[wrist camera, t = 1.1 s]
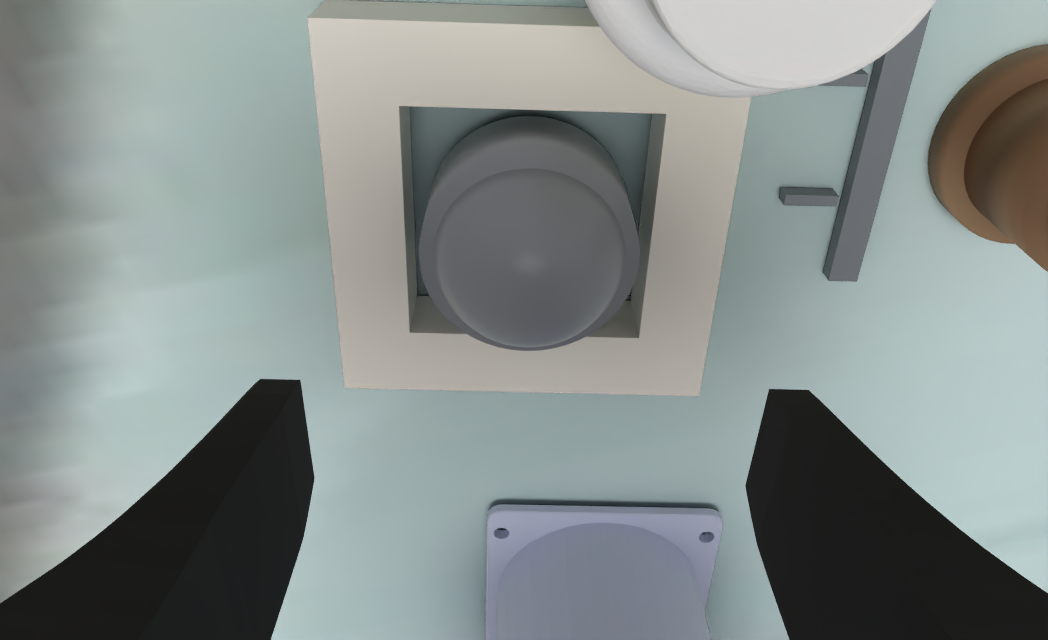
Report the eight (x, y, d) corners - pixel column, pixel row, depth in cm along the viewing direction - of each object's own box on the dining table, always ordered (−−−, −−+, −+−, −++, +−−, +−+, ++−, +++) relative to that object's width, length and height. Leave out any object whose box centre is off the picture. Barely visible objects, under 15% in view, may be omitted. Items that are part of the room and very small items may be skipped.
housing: (686, 356, 25) (698, 395, 24) (356, 348, 25) (344, 388, 24) (742, 12, 20) (762, 31, 19) (325, -1, 20) (307, 18, 18)
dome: (617, 299, 23) (637, 398, 20) (432, 294, 23) (414, 393, 19) (636, 117, 21) (664, 191, 17) (426, 111, 21) (404, 184, 17)
